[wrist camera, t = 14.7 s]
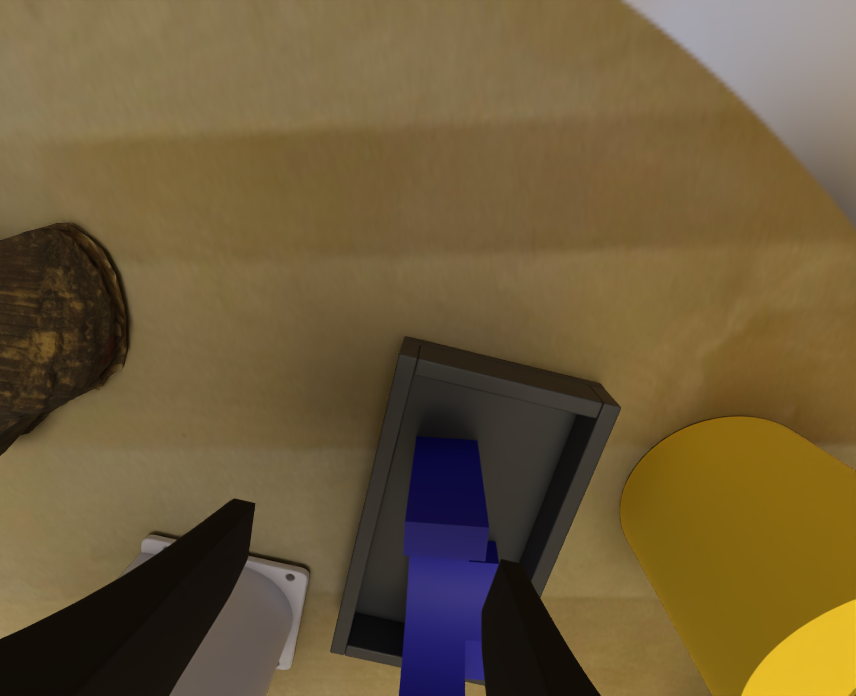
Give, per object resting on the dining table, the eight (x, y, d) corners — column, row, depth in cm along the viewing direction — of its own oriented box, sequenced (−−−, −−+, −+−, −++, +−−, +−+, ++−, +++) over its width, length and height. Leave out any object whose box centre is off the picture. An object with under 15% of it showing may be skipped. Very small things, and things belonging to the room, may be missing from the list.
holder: (341, 609, 25) (329, 653, 23) (404, 336, 20) (399, 353, 17) (496, 643, 26) (501, 690, 23) (600, 383, 20) (622, 407, 18)
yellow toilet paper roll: (864, 448, 21) (1188, 632, 12) (757, 597, 24) (948, 834, 15) (673, 392, 20) (856, 538, 11) (590, 552, 23) (680, 767, 14)
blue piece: (485, 625, 24) (497, 752, 19) (407, 619, 24) (395, 743, 19) (508, 442, 21) (531, 530, 15) (416, 436, 21) (404, 521, 15)
